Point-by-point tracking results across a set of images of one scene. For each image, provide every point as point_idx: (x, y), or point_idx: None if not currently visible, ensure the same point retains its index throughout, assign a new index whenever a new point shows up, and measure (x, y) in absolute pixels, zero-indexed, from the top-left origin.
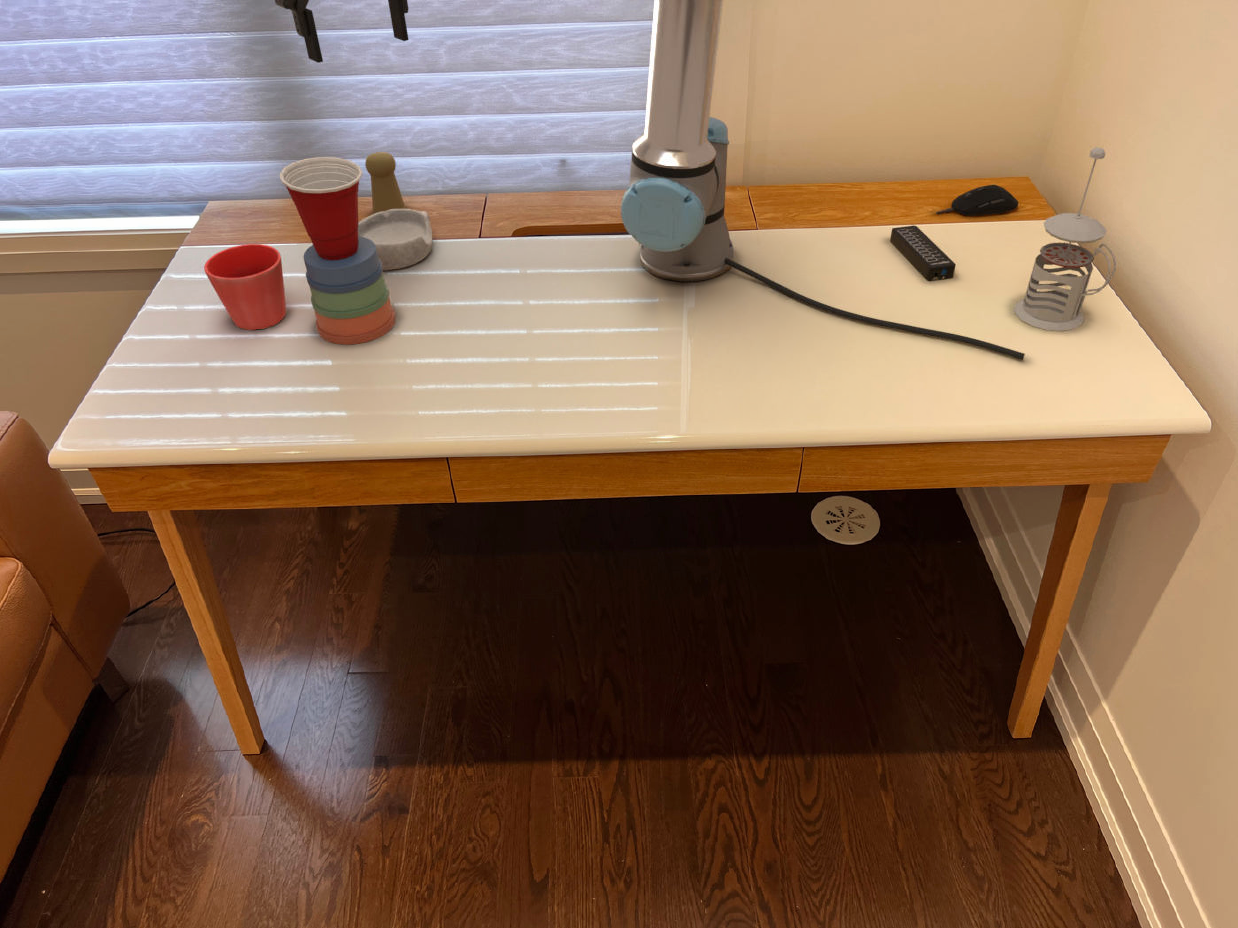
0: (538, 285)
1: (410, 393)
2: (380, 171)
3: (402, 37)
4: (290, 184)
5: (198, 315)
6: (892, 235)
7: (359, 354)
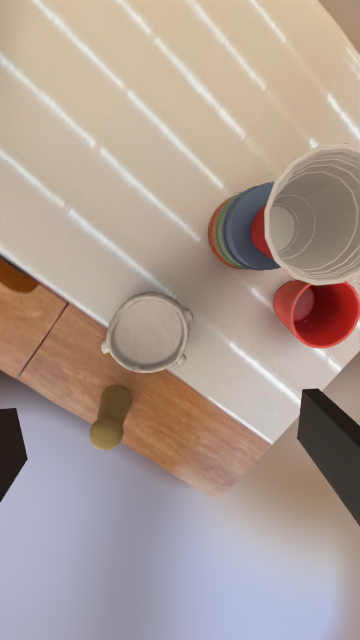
0: (68, 169)
1: (272, 79)
2: (114, 419)
3: (10, 421)
4: (352, 255)
5: None
6: None
7: (268, 181)
